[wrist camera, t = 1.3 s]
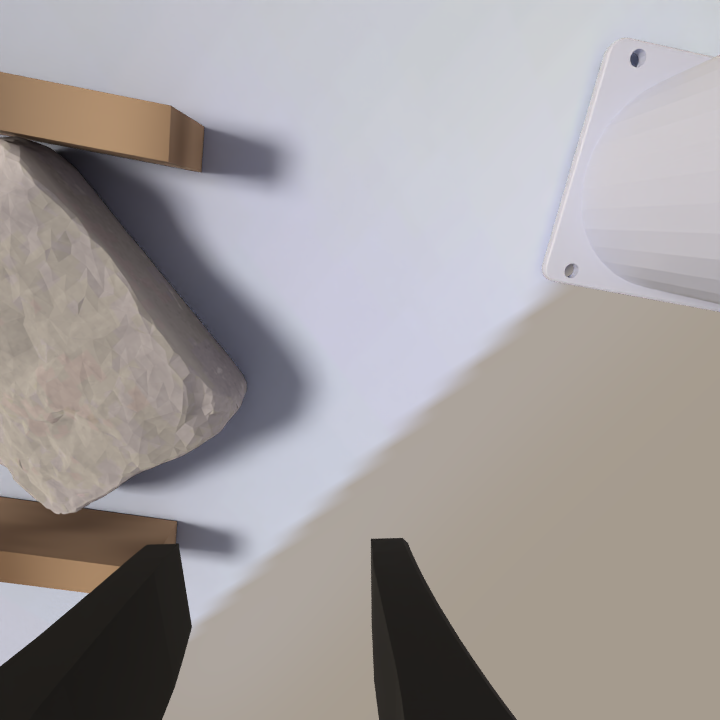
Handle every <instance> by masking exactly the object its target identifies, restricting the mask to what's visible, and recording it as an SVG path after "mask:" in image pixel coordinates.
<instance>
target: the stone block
mask: <svg viewBox="0 0 720 720" xmlns="http://www.w3.org/2000/svg"><path fill="white" fill-rule="evenodd" d="M246 391H247V383H246V381H245V378H244V376H243V374H242V373H241V371H240V370H239V369H238V368H237V366H236V365H235V363H234V362H233V361H232V359H231V358H230V357H229V356H228V354H227V353H226V352H225V351H224V350H223V348H222V347H221V346H220V345H219V344H218V342H217V341H216V340H215V339H214V338H213V337H212V335H211V334H210V333H209V331H208V330H207V329H206V328H205V327H204V325H203V324H202V323H201V322H200V321H199V319H198V318H197V317H196V316H195V314H194V313H193V312H192V311H191V310H190V308H189V307H188V306H187V305H186V303H185V302H184V301H183V300H182V298H181V297H180V296H179V295H178V293H177V292H176V291H175V290H174V289H173V287H172V286H171V285H170V284H169V283H168V282H167V280H166V279H165V278H164V277H163V276H162V274H161V273H160V272H159V271H158V269H157V268H156V267H155V266H154V264H153V263H152V262H151V260H150V259H149V258H148V257H147V255H146V254H145V253H144V252H143V250H142V249H141V248H140V247H139V246H138V244H137V243H136V242H135V241H134V240H133V239H132V237H131V236H130V235H129V234H128V233H127V232H126V231H125V229H124V228H123V226H122V225H121V224H120V223H119V221H118V220H117V219H116V218H115V216H114V215H113V214H112V213H111V212H110V210H109V209H108V208H107V206H106V205H105V204H104V202H103V201H102V200H101V199H100V198H99V196H98V195H97V194H96V192H95V191H94V190H93V189H92V188H91V187H90V185H89V184H88V183H87V182H86V181H85V179H84V178H83V177H82V175H81V174H80V173H79V171H78V170H77V169H76V168H75V167H74V166H73V165H72V164H70V163H69V162H68V161H67V160H65V159H64V158H63V157H61V156H60V155H59V154H58V153H56V152H55V151H54V150H52V149H51V148H49V147H47V146H44V145H41V144H39V143H36V142H33V141H30V140H27V139H24V138H21V137H18V136H12V137H3V138H0V464H1V465H3V466H5V467H7V468H8V469H9V471H10V473H11V474H12V476H13V479H14V480H15V481H16V482H17V483H18V484H19V485H20V486H21V487H22V488H24V489H25V490H26V491H27V492H28V493H29V494H30V495H31V496H33V497H34V498H35V499H36V500H37V501H39V502H40V503H42V504H43V505H44V506H45V507H46V508H47V509H50V510H52V511H53V512H54V513H56V514H60V513H62V514H67V513H75V512H77V511H79V510H81V509H82V508H84V507H85V506H87V505H89V504H90V503H91V502H93V501H96V500H98V499H100V498H102V497H104V496H105V495H107V494H109V493H110V492H112V491H113V490H115V489H116V488H118V487H119V486H120V485H121V484H122V483H124V482H126V481H127V480H128V479H130V478H131V477H133V476H135V475H136V474H139V473H141V472H142V471H145V470H148V469H151V468H153V467H156V466H158V465H160V464H162V463H165V462H168V461H170V460H173V459H176V458H179V457H181V456H183V455H185V454H187V453H188V452H190V451H192V450H193V449H195V448H197V447H199V446H200V445H201V444H203V443H204V442H206V441H207V440H209V439H211V438H212V437H214V436H215V435H217V434H218V433H219V432H221V431H222V429H223V428H224V426H225V425H226V424H227V422H228V421H229V420H230V419H231V418H232V417H233V415H234V414H235V413H236V412H237V411H238V409H239V408H240V406H241V405H242V401H243V398H244V396H245V393H246Z"/></svg>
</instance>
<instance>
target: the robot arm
mask: <svg viewBox="0 0 720 720" xmlns="http://www.w3.org/2000/svg"><path fill="white" fill-rule="evenodd" d="M632 53H635V54H636V55H637V56H638V58H639V64H638V66H637V67H634V66H632V64H631V62H630V56H631V54H632ZM569 264H572V265H573V267H574V270H573V273H572V274H571V275H570V276H567V277H566V275H565V268H566V266H568V265H569ZM542 273H543V276H544V277H545V278H546V279H548V280H551V281H554V282H559V283H565V284H570V285H576V286H582V287H587V288H592V289H598V290H603V291H608V292H614V293H619V294H625V295H630V296H636V297H641V298H647V299H652V300H658V301H663V302H668V303H674V304H679V305H685V306H690V307H696V308H701V309H707V310H712V311H717V312H720V55H719V56H716V57H712V56H707V55H703V54H698V53H694V52H690V51H685V50H681V49H676V48H672V47H667V46H663V45H658V44H654V43H649V42H645V41H640V40H636V39H631V38H621V39H619V40H617V41H615V42H614V43H612V44H611V45H610V46H609V47H608V48H607V49H606V51H605V54H604V56H603V59H602V63H601V66H600V70H599V73H598V76H597V80H596V83H595V87H594V90H593V93H592V97H591V100H590V104H589V107H588V111H587V114H586V117H585V121H584V124H583V128H582V131H581V134H580V138H579V141H578V145H577V148H576V151H575V155H574V158H573V162H572V165H571V169H570V172H569V175H568V179H567V182H566V186H565V189H564V192H563V196H562V199H561V203H560V206H559V209H558V213H557V216H556V220H555V223H554V227H553V230H552V233H551V237H550V240H549V244H548V247H547V250H546V254H545V257H544V261H543V264H542ZM371 583H372V584H371V585H372V586H371V591H372V593H371V594H372V640H373V662H374V663H373V664H374V682H375V691H376V699H377V706H378V715H379V720H517V719H516V718H515V717H514V715H513V714H512V713H511V711H510V710H509V709H508V707H507V706H506V705H505V704H504V702H503V701H502V700H501V698H500V697H499V695H498V694H497V692H496V691H495V690H494V688H493V687H492V686H491V684H490V683H489V681H488V680H487V679H486V677H485V675H484V674H483V673H482V672H481V670H480V668H479V667H478V666H477V664H476V663H475V661H474V660H473V658H472V657H471V655H470V654H469V652H468V651H467V649H466V648H465V646H464V645H463V643H462V642H461V640H460V639H459V637H458V635H457V634H456V632H455V631H454V629H453V627H452V626H451V624H450V622H449V621H448V619H447V618H446V616H445V614H444V613H443V611H442V609H441V608H440V606H439V604H438V603H437V601H436V599H435V597H434V596H433V594H432V592H431V590H430V588H429V586H428V585H427V583H426V581H425V579H424V577H423V575H422V574H421V571H420V569H419V567H418V565H417V563H416V561H415V559H414V557H413V555H412V552H411V550H410V547H409V545H408V543H407V542H406V541H405V540H404V539H403V538H390V539H388V538H387V539H371ZM191 628H192V625H191V619H190V613H189V606H188V600H187V594H186V588H185V582H184V575H183V569H182V563H181V557H180V550H179V544H149V545H146V546H144V547H143V548H142V549H141V550H139V551H138V552H137V553H136V554H135V555H133V556H132V557H131V558H130V559H129V560H127V561H126V562H125V563H124V564H123V565H122V566H120V567H119V568H118V569H117V570H116V571H115V572H113V573H112V574H111V575H110V576H109V577H108V578H106V579H105V580H104V581H103V582H102V583H101V584H100V585H98V586H97V587H96V588H95V589H94V590H93V591H91V592H90V593H89V594H88V595H87V596H86V597H84V598H83V599H82V600H81V601H80V602H79V603H77V604H76V605H75V606H74V607H73V608H71V609H70V610H69V611H68V612H67V613H65V614H64V615H63V616H62V617H61V618H60V619H58V620H57V621H56V622H55V623H54V624H52V625H51V626H50V627H49V628H48V629H47V630H45V631H44V632H43V633H42V634H41V635H39V636H38V637H37V638H36V639H34V640H33V641H32V642H31V643H29V644H28V645H27V646H26V647H24V648H23V649H22V650H21V651H19V652H18V653H17V654H15V655H14V656H13V657H12V658H10V659H9V660H8V661H7V662H5V663H4V664H3V665H2V666H0V720H162V718H163V715H164V713H165V710H166V708H167V706H168V703H169V700H170V698H171V695H172V693H173V690H174V688H175V684H176V681H177V678H178V674H179V671H180V667H181V664H182V661H183V657H184V654H185V650H186V646H187V643H188V639H189V635H190V632H191Z"/></svg>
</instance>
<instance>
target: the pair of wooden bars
mask: <svg viewBox="0 0 720 720" xmlns="http://www.w3.org/2000/svg"><path fill="white" fill-rule="evenodd" d="M0 134H2V135H7V136H18V137H21V138H24V139H28V140H33V141H39V142H44V143H49V144H54V145H60V146H65V147H70V148H75V149H81V150H86V151H91V152H97V153H102V154H107V155H112V156H118V157H123V158H128V159H133V160H139V161H144V162H149V163H154V164H160V165H165V166H170V167H176V168H181V169H186V170H191V171H197V172H201V168H202V154H203V139H204V126H202V125H201V124H199V123H197V122H196V121H194V120H193V119H191V118H190V117H188V116H186V115H185V114H183V113H182V112H180V111H178V110H177V109H175V108H174V107H172V106H169V105H164V104H159V103H154V102H149V101H144V100H139V99H134V98H129V97H124V96H119V95H114V94H109V93H104V92H99V91H94V90H89V89H84V88H79V87H74V86H69V85H63V84H58V83H53V82H48V81H43V80H38V79H33V78H28V77H23V76H18V75H13V74H8V73H3V72H0ZM176 531H177V521H171V520H164V519H156V518H149V517H142V516H135V515H128V514H120V513H113V512H106V511H99V510H92V509H84V508H82V509H81V510H79V511H77V512H75V513H67V514H62V513H60V514H56V513H54V512H53V511H52V510H50V509H47V508H46V507H45V506H44V505H43V504H42V503H40V502H34V501H27V500H20V499H12V498H5V497H0V582H6V583H14V584H22V585H30V586H38V587H46V588H54V589H62V590H69V591H77V592H85V593H90V592H91V591H93V590H94V589H95V588H96V587H97V586H98V585H100V584H101V583H102V582H103V581H104V580H105V579H106V578H108V577H109V576H110V575H111V574H112V573H113V572H115V571H116V570H117V569H118V568H119V567H120V566H122V565H123V564H124V563H125V562H126V561H127V560H129V559H130V558H131V557H132V556H133V555H135V554H136V553H137V552H138V551H139V550H141V549H142V548H143V547H144V546H146V545H149V544H176Z"/></svg>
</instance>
